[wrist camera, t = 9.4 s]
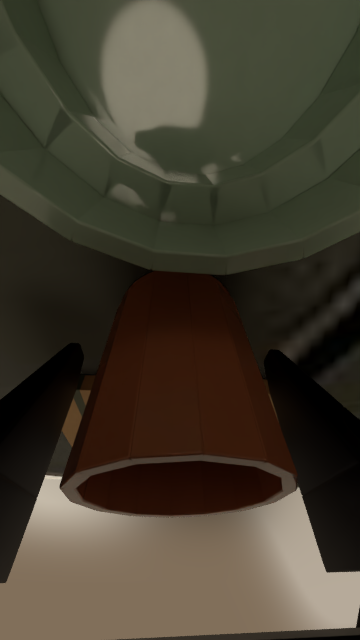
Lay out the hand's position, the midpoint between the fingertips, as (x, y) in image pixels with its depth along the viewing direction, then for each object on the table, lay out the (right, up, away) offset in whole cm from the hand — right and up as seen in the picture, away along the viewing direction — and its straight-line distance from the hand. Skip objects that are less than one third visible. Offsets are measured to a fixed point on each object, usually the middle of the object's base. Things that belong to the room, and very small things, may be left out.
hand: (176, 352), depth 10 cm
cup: (0, +2, +2) cm, 3 cm away
